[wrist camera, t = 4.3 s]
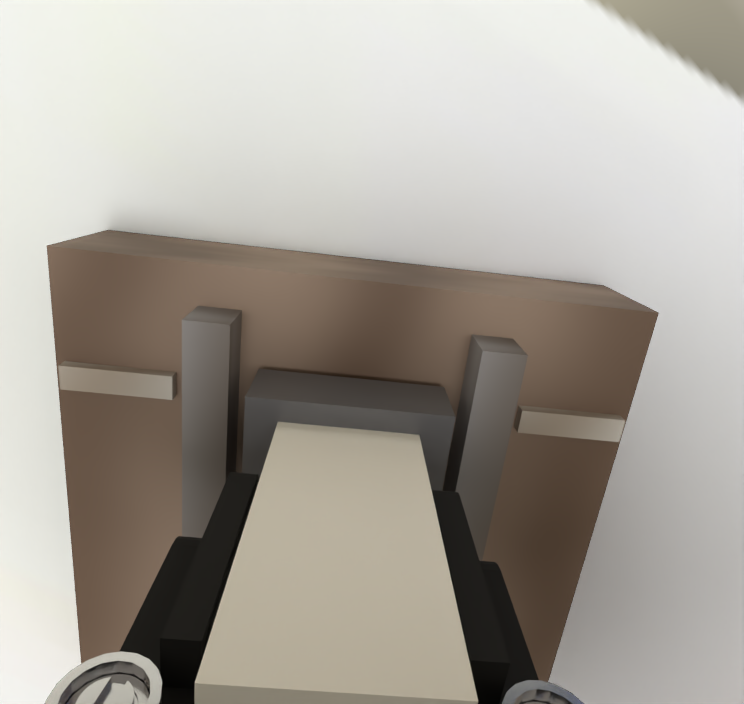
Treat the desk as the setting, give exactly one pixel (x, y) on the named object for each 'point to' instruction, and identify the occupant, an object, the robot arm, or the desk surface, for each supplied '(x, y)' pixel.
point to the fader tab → (340, 551)
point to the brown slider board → (333, 358)
